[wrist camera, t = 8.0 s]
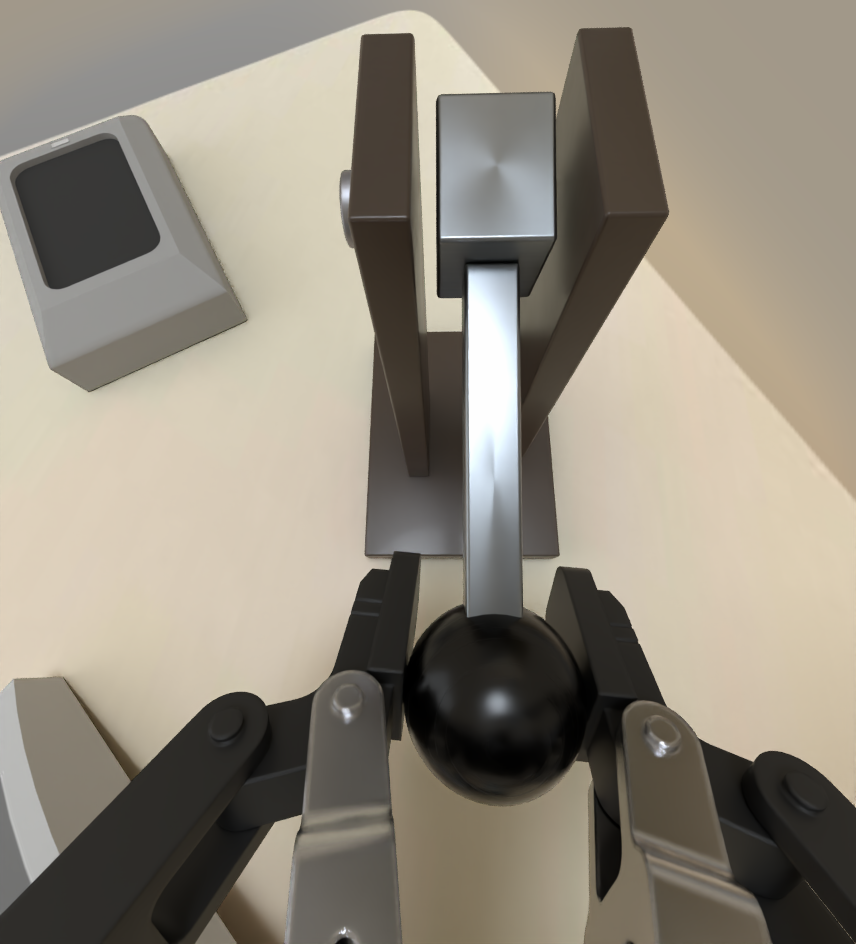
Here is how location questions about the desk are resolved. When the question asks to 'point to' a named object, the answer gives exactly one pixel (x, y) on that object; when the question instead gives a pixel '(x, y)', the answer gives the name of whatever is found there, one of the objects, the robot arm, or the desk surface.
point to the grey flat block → (111, 252)
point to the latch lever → (494, 469)
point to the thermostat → (53, 783)
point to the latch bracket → (541, 314)
